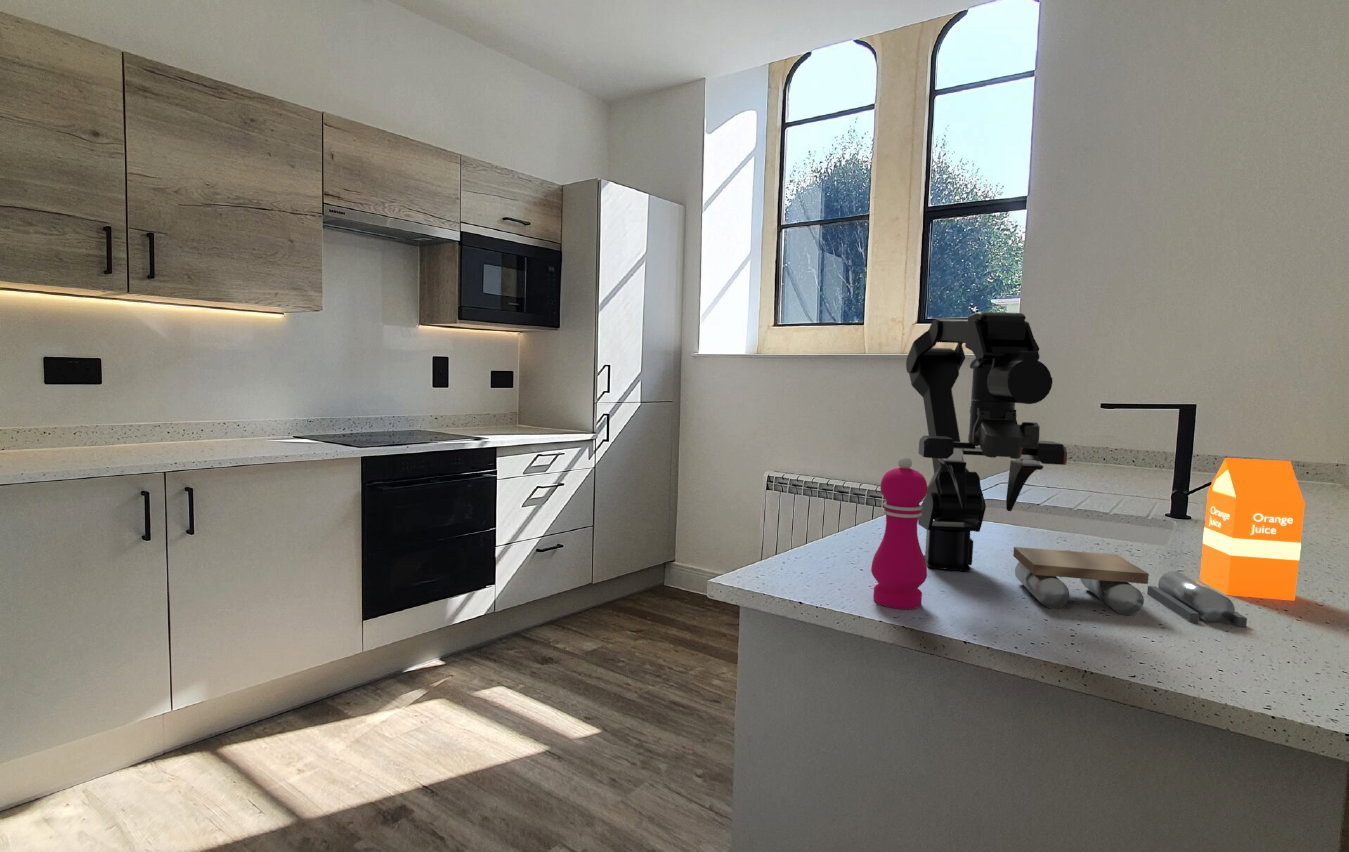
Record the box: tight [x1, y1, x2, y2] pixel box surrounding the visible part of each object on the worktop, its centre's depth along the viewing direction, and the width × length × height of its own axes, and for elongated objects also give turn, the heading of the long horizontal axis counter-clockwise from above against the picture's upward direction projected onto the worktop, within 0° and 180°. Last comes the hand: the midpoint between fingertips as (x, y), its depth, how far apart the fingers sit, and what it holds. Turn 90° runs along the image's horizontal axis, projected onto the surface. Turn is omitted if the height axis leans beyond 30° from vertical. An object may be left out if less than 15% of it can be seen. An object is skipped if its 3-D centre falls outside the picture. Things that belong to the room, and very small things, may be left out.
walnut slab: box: [1012, 546, 1150, 585], centre depth 98 cm, size 14×10×1 cm
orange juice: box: [1199, 457, 1306, 601], centre depth 105 cm, size 8×9×20 cm
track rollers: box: [1014, 561, 1145, 616], centre depth 98 cm, size 13×11×4 cm
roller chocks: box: [1146, 585, 1248, 628], centre depth 95 cm, size 6×12×1 cm, turn 168°
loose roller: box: [1157, 570, 1236, 625], centre depth 95 cm, size 11×4×4 cm, turn 169°
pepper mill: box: [870, 456, 928, 610], centre depth 94 cm, size 7×7×20 cm
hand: (985, 509), depth 100 cm, fingers open, 6 cm apart
